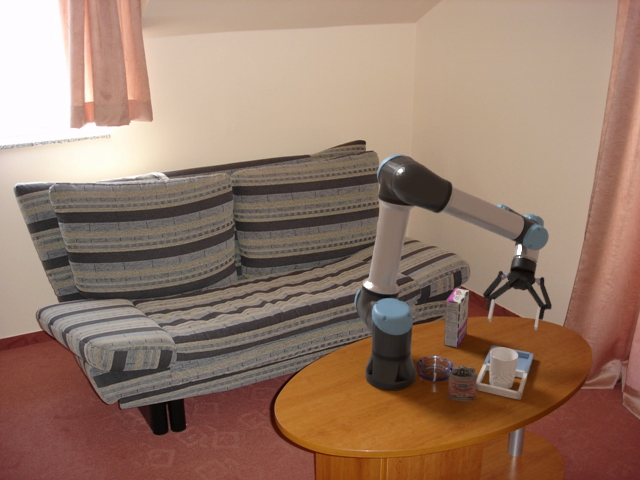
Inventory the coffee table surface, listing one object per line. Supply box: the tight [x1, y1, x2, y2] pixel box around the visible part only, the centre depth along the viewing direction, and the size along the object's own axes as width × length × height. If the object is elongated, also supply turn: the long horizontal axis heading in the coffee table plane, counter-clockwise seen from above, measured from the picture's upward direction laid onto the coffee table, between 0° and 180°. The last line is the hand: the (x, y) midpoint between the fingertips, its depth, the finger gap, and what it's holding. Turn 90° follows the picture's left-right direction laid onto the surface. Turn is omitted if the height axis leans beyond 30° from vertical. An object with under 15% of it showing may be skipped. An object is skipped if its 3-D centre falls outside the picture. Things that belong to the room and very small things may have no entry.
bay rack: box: [476, 344, 535, 401], centre depth 195 cm, size 13×25×2 cm, turn 155°
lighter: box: [446, 364, 479, 402], centre depth 182 cm, size 8×3×10 cm, turn 82°
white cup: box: [488, 346, 518, 390], centre depth 189 cm, size 8×8×10 cm
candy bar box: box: [443, 287, 470, 348], centre depth 213 cm, size 11×5×16 cm, turn 153°
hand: (512, 324), depth 195 cm, fingers open, 13 cm apart
